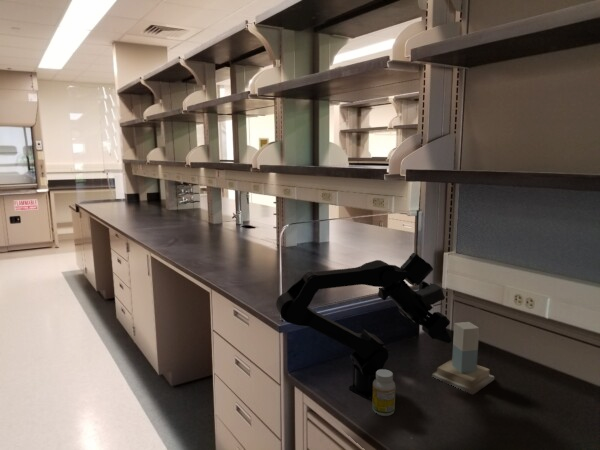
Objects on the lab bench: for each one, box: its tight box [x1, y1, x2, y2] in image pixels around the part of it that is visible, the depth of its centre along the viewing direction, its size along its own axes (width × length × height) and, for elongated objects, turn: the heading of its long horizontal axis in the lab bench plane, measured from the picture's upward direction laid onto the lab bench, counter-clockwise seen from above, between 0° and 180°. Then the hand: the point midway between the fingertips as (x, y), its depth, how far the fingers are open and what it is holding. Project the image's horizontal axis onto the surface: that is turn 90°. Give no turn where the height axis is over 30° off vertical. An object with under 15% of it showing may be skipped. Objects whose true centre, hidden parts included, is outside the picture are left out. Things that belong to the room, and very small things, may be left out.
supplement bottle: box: [371, 369, 396, 417], centre depth 104 cm, size 5×5×10 cm
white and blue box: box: [451, 321, 480, 373], centre depth 118 cm, size 5×5×12 cm
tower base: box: [431, 359, 495, 396], centre depth 119 cm, size 12×12×3 cm
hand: (441, 335), depth 116 cm, fingers open, 9 cm apart
